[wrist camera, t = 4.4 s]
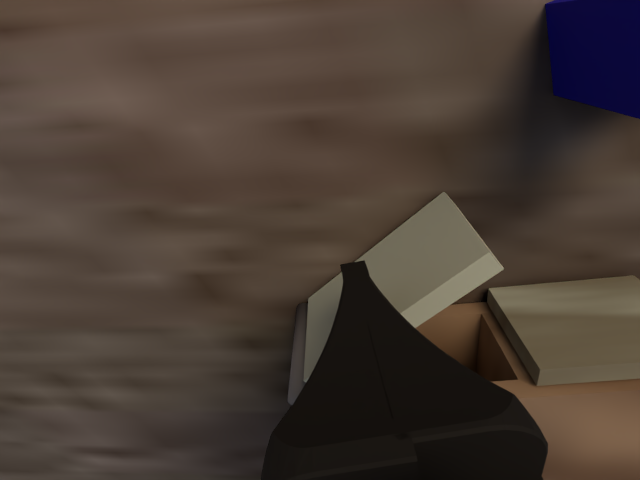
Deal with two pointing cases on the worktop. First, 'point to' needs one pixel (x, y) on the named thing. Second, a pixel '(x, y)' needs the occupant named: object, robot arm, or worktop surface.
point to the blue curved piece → (596, 52)
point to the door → (401, 279)
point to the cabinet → (560, 366)
